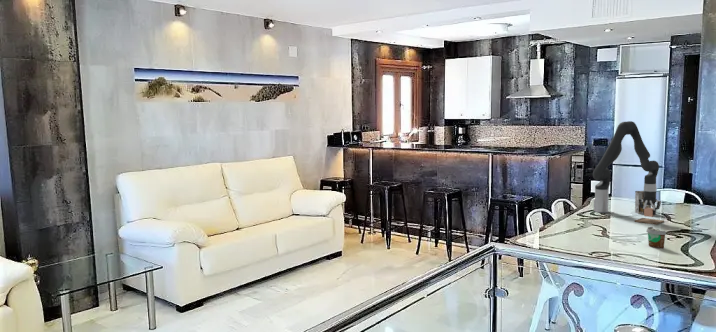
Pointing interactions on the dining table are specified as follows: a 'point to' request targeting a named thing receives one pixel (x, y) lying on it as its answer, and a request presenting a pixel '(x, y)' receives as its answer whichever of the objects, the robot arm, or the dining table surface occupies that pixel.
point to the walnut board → (649, 221)
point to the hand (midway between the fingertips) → (649, 214)
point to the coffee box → (637, 206)
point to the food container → (656, 237)
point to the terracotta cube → (648, 212)
